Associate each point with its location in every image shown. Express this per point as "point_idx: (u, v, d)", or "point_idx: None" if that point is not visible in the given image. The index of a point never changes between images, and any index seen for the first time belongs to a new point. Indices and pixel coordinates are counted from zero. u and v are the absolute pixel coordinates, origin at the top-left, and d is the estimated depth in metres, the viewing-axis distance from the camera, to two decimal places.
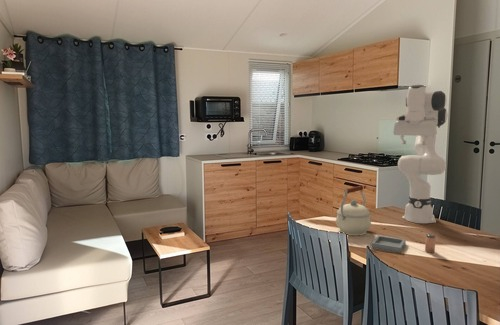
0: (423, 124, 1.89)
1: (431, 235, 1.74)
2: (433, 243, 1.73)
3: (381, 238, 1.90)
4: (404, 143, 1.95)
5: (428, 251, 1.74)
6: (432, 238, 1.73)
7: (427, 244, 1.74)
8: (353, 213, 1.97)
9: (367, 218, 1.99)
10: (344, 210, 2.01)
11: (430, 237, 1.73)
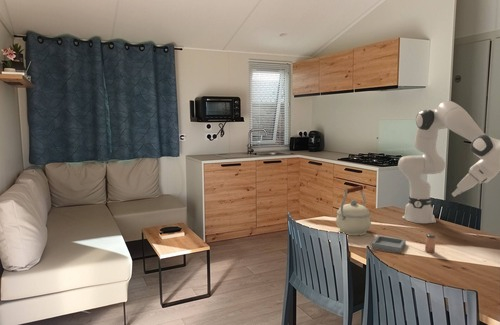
0: None
1: (431, 235, 1.74)
2: (433, 243, 1.73)
3: (381, 238, 1.90)
4: None
5: (428, 251, 1.74)
6: (432, 238, 1.73)
7: (427, 244, 1.74)
8: (353, 213, 1.97)
9: (367, 218, 1.99)
10: (344, 210, 2.01)
11: (430, 237, 1.73)
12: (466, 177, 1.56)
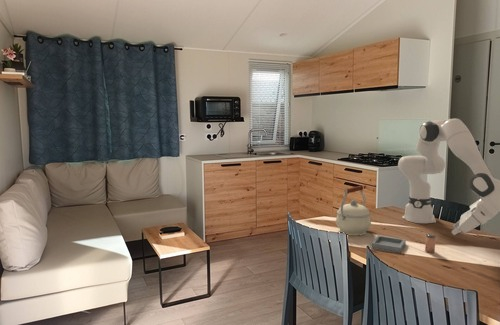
0: None
1: (431, 235, 1.74)
2: (433, 243, 1.73)
3: (381, 238, 1.90)
4: (454, 234, 1.65)
5: (428, 251, 1.74)
6: (432, 238, 1.73)
7: (427, 244, 1.74)
8: (353, 213, 1.97)
9: (367, 218, 1.99)
10: (344, 210, 2.01)
11: (430, 237, 1.73)
12: (469, 219, 1.57)
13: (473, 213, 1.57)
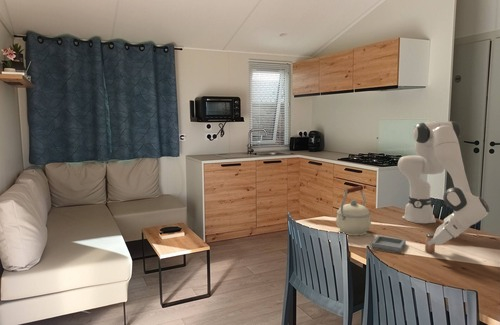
0: None
1: (431, 235, 1.74)
2: None
3: (381, 238, 1.90)
4: (430, 244, 1.73)
5: (428, 251, 1.74)
6: (432, 238, 1.73)
7: (427, 244, 1.74)
8: (353, 213, 1.97)
9: (367, 218, 1.99)
10: (344, 210, 2.01)
11: (430, 237, 1.73)
12: (442, 232, 1.63)
13: (446, 227, 1.63)
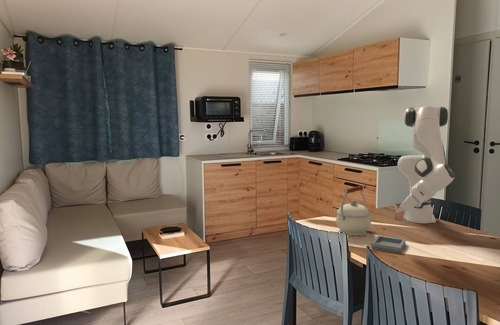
0: None
1: (400, 203, 1.78)
2: (402, 211, 1.77)
3: (381, 238, 1.90)
4: (399, 212, 1.77)
5: (397, 219, 1.78)
6: None
7: (396, 212, 1.78)
8: (353, 213, 1.97)
9: (367, 218, 1.99)
10: (344, 210, 2.01)
11: (399, 205, 1.77)
12: (408, 198, 1.67)
13: (412, 193, 1.67)
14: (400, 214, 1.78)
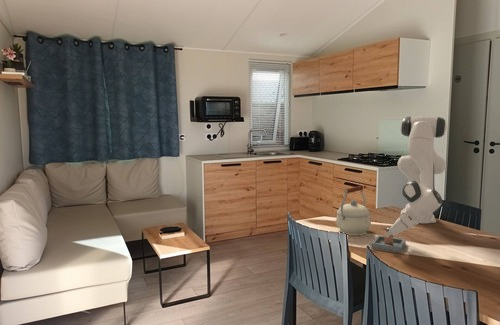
0: None
1: None
2: (391, 236, 1.81)
3: (381, 238, 1.90)
4: None
5: (387, 244, 1.82)
6: None
7: (386, 237, 1.82)
8: (353, 213, 1.97)
9: (367, 218, 1.99)
10: (344, 210, 2.01)
11: (388, 230, 1.81)
12: (397, 223, 1.71)
13: (401, 218, 1.71)
14: (389, 239, 1.81)
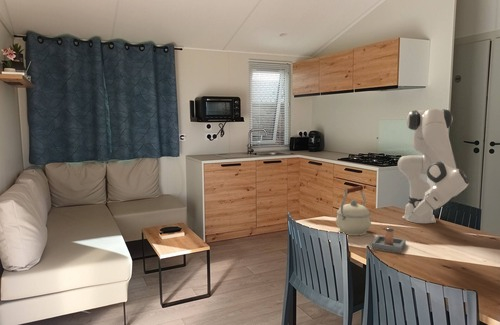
0: None
1: (389, 228, 1.82)
2: (391, 236, 1.81)
3: (381, 238, 1.90)
4: (410, 219, 1.72)
5: (387, 244, 1.82)
6: (390, 231, 1.81)
7: (386, 237, 1.82)
8: (353, 213, 1.97)
9: (367, 218, 1.99)
10: (344, 210, 2.01)
11: (388, 230, 1.81)
12: (422, 204, 1.64)
13: (426, 199, 1.64)
14: (389, 239, 1.81)
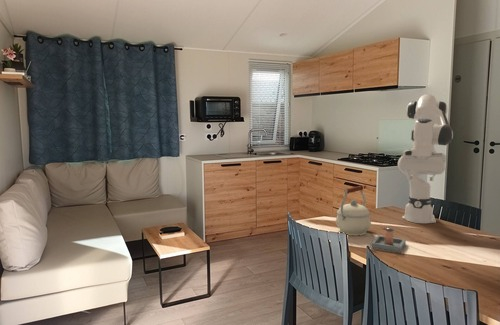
0: (430, 160, 1.82)
1: (389, 228, 1.82)
2: (391, 236, 1.81)
3: (381, 238, 1.90)
4: (411, 178, 1.89)
5: (387, 244, 1.82)
6: (390, 231, 1.81)
7: (386, 237, 1.82)
8: (353, 213, 1.97)
9: (367, 218, 1.99)
10: (344, 210, 2.01)
11: (388, 230, 1.81)
12: None
13: None
14: (389, 239, 1.81)
